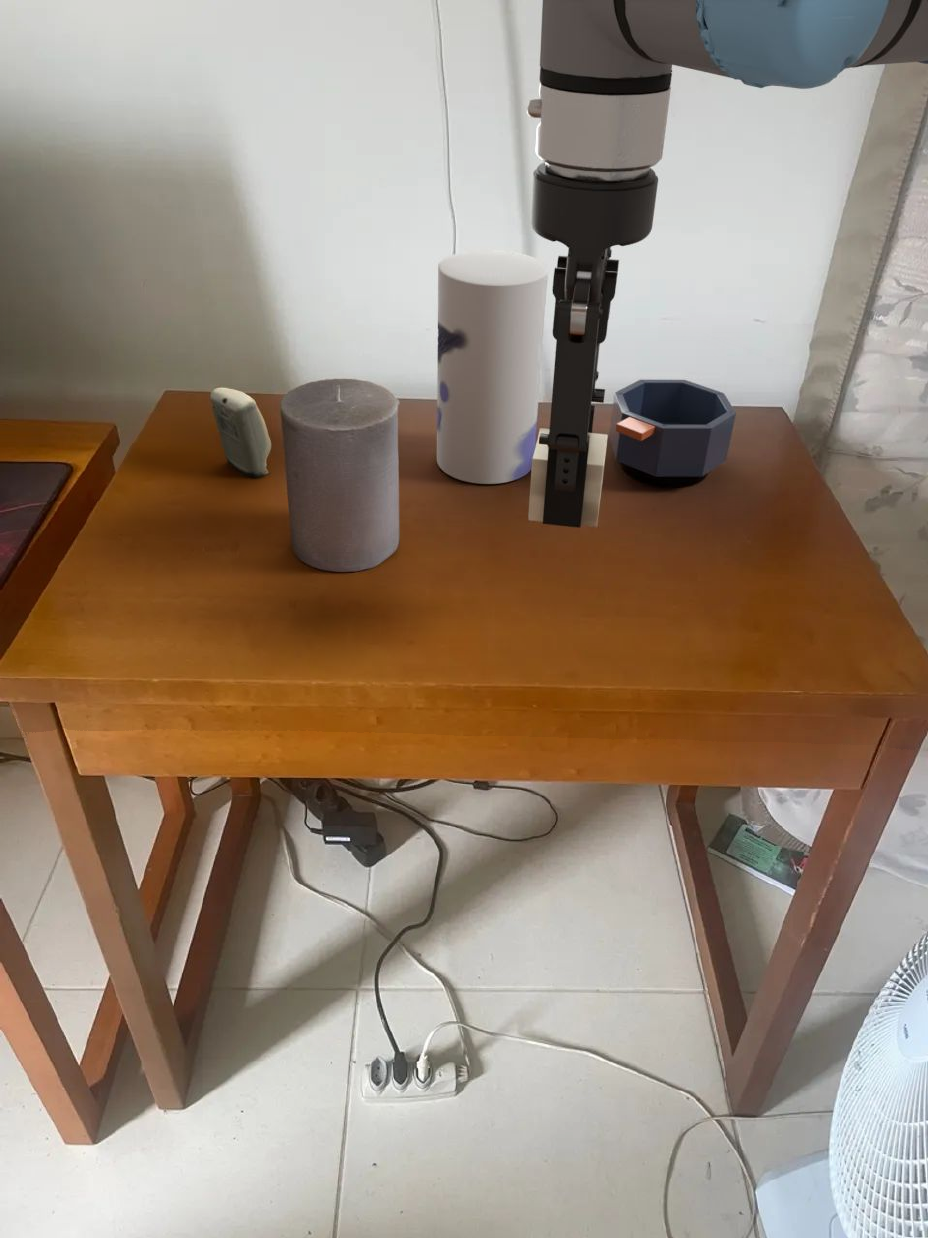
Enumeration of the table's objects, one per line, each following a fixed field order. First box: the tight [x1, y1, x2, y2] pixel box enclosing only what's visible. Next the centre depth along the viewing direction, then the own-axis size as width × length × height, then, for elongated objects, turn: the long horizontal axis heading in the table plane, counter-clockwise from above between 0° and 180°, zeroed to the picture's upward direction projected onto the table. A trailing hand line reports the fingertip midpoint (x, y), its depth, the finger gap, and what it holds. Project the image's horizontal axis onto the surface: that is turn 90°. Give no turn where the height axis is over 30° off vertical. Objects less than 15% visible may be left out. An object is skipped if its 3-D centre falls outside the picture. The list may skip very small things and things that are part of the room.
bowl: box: [608, 379, 737, 477], centre depth 98 cm, size 13×11×5 cm
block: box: [527, 427, 609, 528], centre depth 71 cm, size 5×5×5 cm
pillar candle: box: [279, 378, 401, 573], centre depth 84 cm, size 10×10×15 cm
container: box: [436, 249, 549, 485], centre depth 95 cm, size 10×10×20 cm
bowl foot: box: [619, 462, 709, 489], centre depth 101 cm, size 9×9×2 cm
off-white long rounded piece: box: [209, 387, 272, 479], centre depth 97 cm, size 6×5×8 cm
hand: (565, 502), depth 73 cm, fingers closed on block, 5 cm apart
